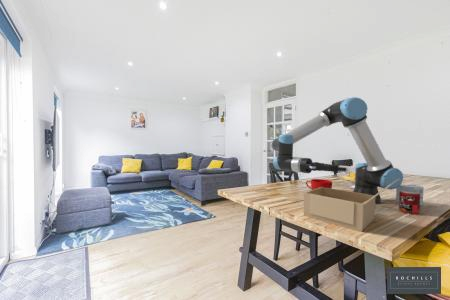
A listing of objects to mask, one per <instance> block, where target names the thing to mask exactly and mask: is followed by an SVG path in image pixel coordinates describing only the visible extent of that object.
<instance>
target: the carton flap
mask: <svg viewBox="0 0 450 300" xmlns="http://www.w3.org/2000/svg"><path fill="white" fill-rule="evenodd" d="M398 180H399V179H397V180H396V181H394V182H393V183H391V184H390V185H388V186H387V187H385V188H382V190H380V191H378V192H379V193H377V194H376V195H375V196H373V197H372V198H371V199H369V200H368V201H366V202H365V203H364V204H366V203H367V202H369V201H370V200H372V199H373V198H375V197H376V196H377V195H380V194H382V193H383V192H384V191H386V190H388V189H387V188H388V187H390V186H391V185H392V184H394V183H395V182H397V181H398Z"/></svg>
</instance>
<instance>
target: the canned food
mask: <svg viewBox="0 0 450 300" xmlns="http://www.w3.org/2000/svg"><path fill="white" fill-rule="evenodd" d="M420 206H421V205H420V192H418V191H414V190H405V189H401V190H400V194H399V203H398V209H399V212H400V211H401V213H403V212H404V213H403V214H407V213H409V214H408V215H413V214H417V215H419V214H420Z"/></svg>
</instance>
